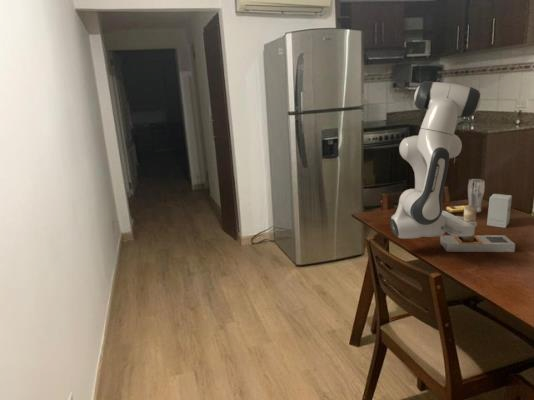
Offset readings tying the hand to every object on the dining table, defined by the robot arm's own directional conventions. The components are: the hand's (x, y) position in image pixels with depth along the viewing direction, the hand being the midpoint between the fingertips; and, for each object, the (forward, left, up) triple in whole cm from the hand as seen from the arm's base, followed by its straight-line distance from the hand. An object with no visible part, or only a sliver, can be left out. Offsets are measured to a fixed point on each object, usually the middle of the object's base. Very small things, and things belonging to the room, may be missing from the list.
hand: (471, 221), depth 145 cm
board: (+2, 0, -10) cm, 10 cm away
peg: (-1, 0, -8) cm, 8 cm away
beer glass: (+17, +46, -10) cm, 50 cm away
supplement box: (+20, +26, -10) cm, 34 cm away
